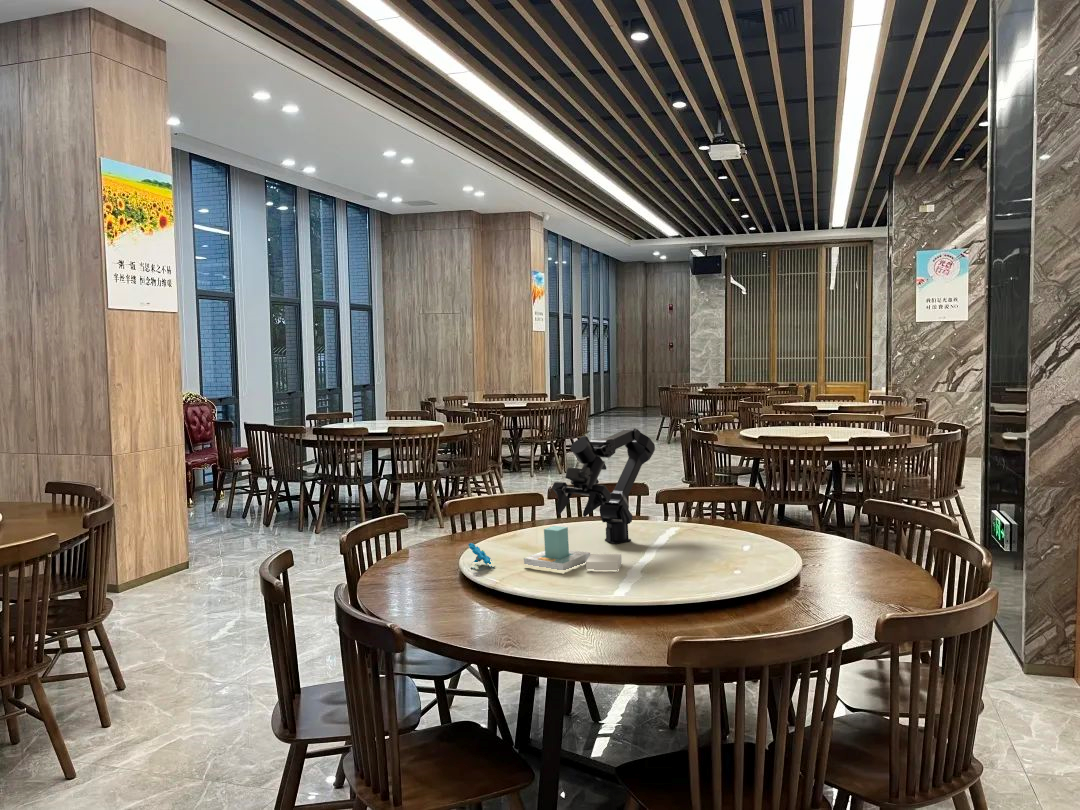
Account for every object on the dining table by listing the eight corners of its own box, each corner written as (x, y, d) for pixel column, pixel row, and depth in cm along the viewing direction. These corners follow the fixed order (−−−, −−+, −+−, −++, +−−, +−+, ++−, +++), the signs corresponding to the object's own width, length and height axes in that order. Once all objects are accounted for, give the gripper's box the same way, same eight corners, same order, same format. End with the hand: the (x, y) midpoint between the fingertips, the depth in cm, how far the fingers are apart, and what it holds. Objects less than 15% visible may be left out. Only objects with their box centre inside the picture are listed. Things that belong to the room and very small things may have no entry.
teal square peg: (555, 562, 263) (553, 525, 263) (569, 564, 260) (567, 527, 260) (545, 566, 259) (543, 529, 259) (559, 568, 256) (557, 530, 256)
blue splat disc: (494, 566, 256) (469, 542, 257) (480, 581, 256) (455, 557, 257) (498, 561, 267) (474, 539, 268) (485, 576, 267) (461, 553, 268)
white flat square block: (591, 563, 260) (590, 553, 260) (621, 563, 258) (621, 553, 258) (586, 572, 251) (585, 561, 251) (618, 572, 249) (617, 561, 249)
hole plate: (552, 557, 270) (551, 547, 270) (590, 562, 261) (590, 551, 261) (524, 568, 259) (523, 557, 258) (563, 574, 250) (562, 562, 250)
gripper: (553, 455, 274) (533, 497, 266) (604, 458, 263) (585, 501, 255) (569, 477, 281) (550, 518, 273) (619, 480, 270) (601, 523, 262)
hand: (571, 514), depth 265 cm, fingers open, 9 cm apart
